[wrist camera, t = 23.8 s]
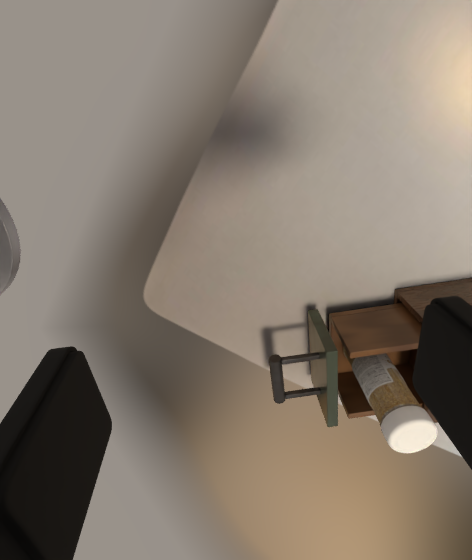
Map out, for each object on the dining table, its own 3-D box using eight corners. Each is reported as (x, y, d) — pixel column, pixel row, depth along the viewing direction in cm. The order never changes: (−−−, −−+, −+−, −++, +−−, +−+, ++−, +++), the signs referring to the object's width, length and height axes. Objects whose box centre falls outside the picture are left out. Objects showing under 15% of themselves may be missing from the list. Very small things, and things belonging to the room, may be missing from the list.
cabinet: (387, 366, 47) (425, 424, 39) (394, 289, 41) (440, 337, 33) (492, 351, 47) (552, 406, 38) (514, 271, 41) (592, 315, 33)
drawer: (270, 385, 47) (279, 434, 40) (261, 317, 41) (270, 360, 34) (409, 364, 46) (443, 411, 39) (418, 293, 41) (460, 333, 34)
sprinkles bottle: (382, 348, 43) (445, 443, 31) (349, 364, 44) (398, 461, 32) (369, 324, 41) (431, 415, 29) (335, 341, 42) (382, 435, 30)
